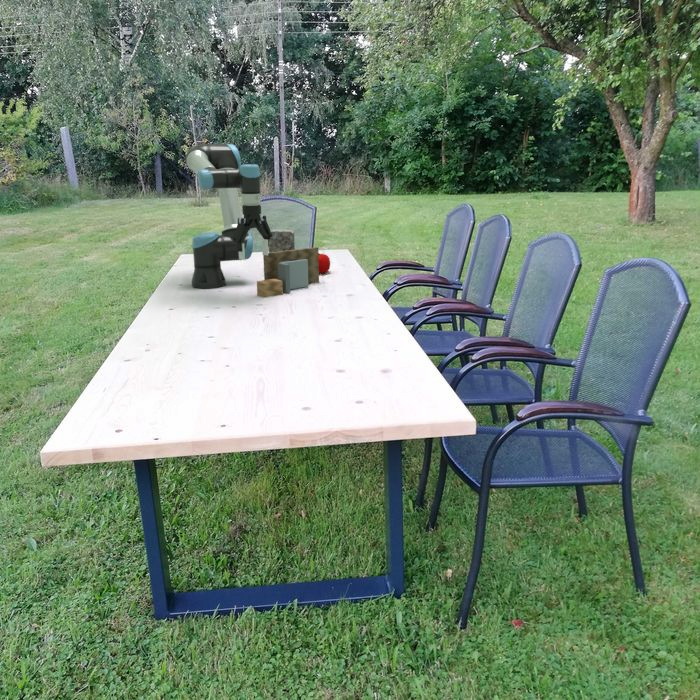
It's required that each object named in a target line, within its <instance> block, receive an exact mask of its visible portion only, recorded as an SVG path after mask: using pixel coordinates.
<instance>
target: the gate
mask: <svg viewBox="0 0 700 700" xmlns="http://www.w3.org/2000/svg"><path fill="white" fill-rule="evenodd" d="M278 280H281V281H282V283H283V293H285V294H289V293H291V290H294V289H299V288H307V287H309V284H308V260H307V259H304V260H296V261H288V262H281V263H278Z"/></svg>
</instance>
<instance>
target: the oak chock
mask: <svg viewBox="0 0 700 700" xmlns="http://www.w3.org/2000/svg"><path fill="white" fill-rule="evenodd" d="M256 292H257V293H256V294H257V295H256V296H259V297H262V298H269V297H275V296H282V295H283V294H284V292H283V283H282V281H281V280H278V279H269V280H264V279H263V280H257V281H256Z"/></svg>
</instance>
